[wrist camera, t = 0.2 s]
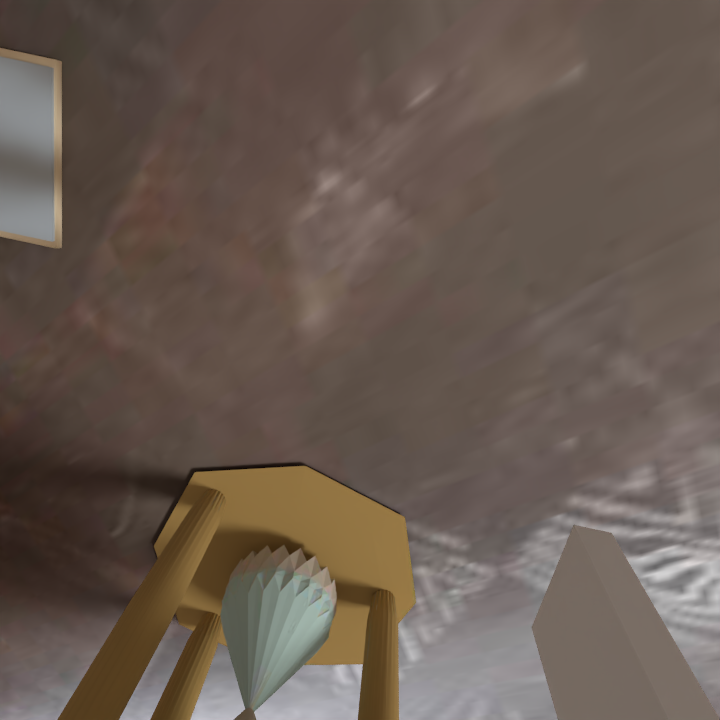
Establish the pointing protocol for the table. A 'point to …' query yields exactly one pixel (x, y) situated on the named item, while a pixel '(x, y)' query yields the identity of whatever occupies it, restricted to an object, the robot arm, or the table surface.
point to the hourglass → (263, 594)
